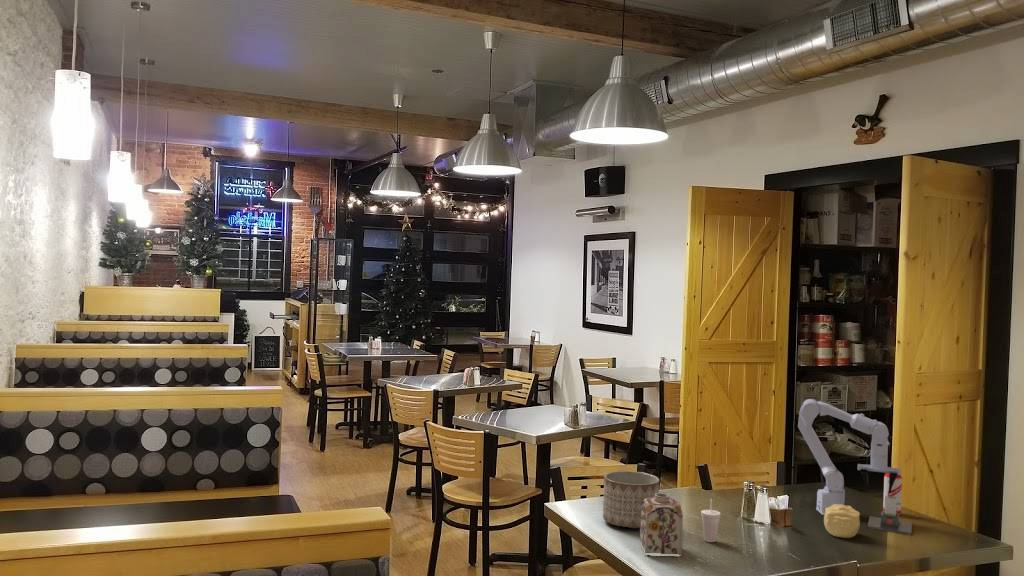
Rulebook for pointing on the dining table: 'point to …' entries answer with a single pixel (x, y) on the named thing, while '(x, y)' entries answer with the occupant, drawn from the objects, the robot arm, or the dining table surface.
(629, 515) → the planter
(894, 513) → the block
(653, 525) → the decorative jar
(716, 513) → the smoothie
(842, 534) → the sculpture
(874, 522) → the grey square base
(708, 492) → the dining table surface
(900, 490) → the beer can
